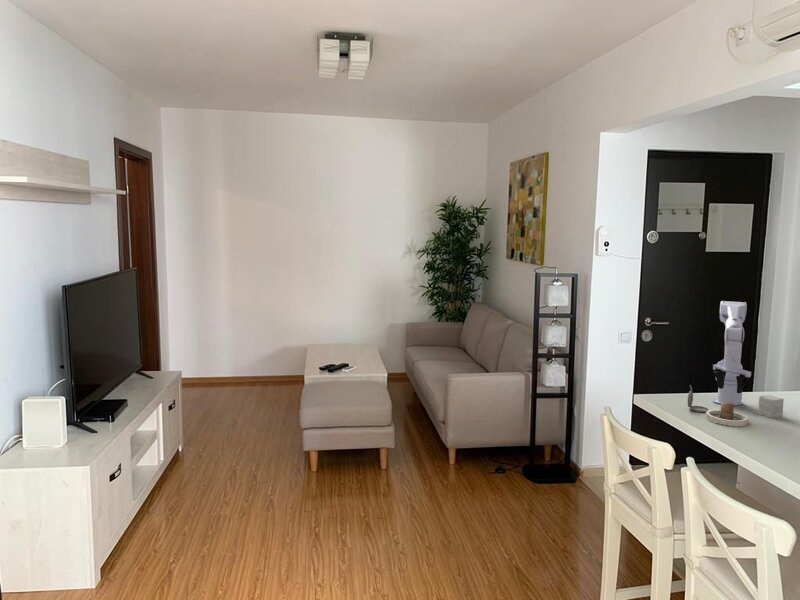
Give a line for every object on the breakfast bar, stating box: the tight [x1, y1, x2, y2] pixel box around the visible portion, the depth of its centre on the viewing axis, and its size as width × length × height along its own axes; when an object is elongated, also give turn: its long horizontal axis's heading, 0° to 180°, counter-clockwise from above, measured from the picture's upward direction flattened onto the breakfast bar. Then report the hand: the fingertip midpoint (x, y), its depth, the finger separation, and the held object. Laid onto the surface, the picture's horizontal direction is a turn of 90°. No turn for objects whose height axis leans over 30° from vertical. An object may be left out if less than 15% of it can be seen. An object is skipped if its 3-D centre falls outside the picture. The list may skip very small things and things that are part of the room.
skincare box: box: [758, 394, 785, 419], centre depth 233 cm, size 6×6×7 cm
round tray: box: [705, 409, 749, 427], centre depth 227 cm, size 14×14×2 cm
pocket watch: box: [687, 384, 709, 413], centre depth 239 cm, size 8×8×10 cm
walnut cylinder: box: [720, 402, 735, 420], centre depth 227 cm, size 4×4×6 cm
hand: (730, 390), depth 234 cm, fingers open, 7 cm apart
